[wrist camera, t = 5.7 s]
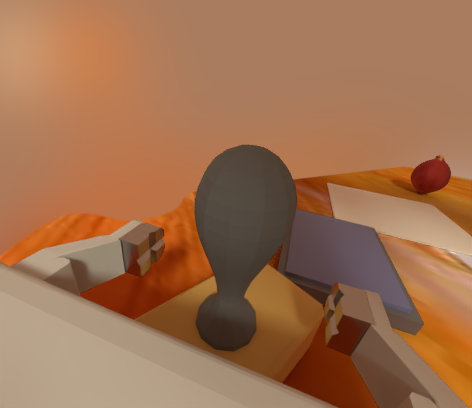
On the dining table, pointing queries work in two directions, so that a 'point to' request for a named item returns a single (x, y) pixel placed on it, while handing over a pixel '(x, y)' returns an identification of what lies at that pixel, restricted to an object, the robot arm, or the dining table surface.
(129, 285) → the dining table surface
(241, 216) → the rubber stamp
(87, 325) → the robot arm
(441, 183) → the onion
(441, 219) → the paper
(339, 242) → the ink pad
